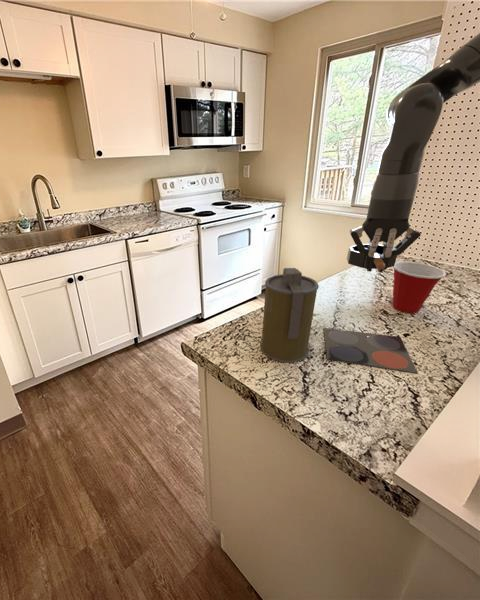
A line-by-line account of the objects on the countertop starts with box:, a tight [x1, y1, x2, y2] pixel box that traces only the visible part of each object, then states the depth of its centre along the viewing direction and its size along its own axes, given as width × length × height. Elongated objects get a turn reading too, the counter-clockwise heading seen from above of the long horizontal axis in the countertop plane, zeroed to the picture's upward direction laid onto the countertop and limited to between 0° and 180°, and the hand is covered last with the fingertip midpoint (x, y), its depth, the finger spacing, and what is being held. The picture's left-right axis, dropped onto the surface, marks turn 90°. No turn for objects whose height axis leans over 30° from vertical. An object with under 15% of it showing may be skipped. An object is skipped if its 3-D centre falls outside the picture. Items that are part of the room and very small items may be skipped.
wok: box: [346, 243, 398, 270], centre depth 76 cm, size 10×18×4 cm, turn 154°
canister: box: [259, 267, 319, 364], centre depth 69 cm, size 11×10×20 cm
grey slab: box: [323, 327, 419, 374], centre depth 71 cm, size 16×14×1 cm
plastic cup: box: [392, 261, 447, 314], centre depth 83 cm, size 11×11×12 cm
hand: (374, 270), depth 74 cm, fingers closed on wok
